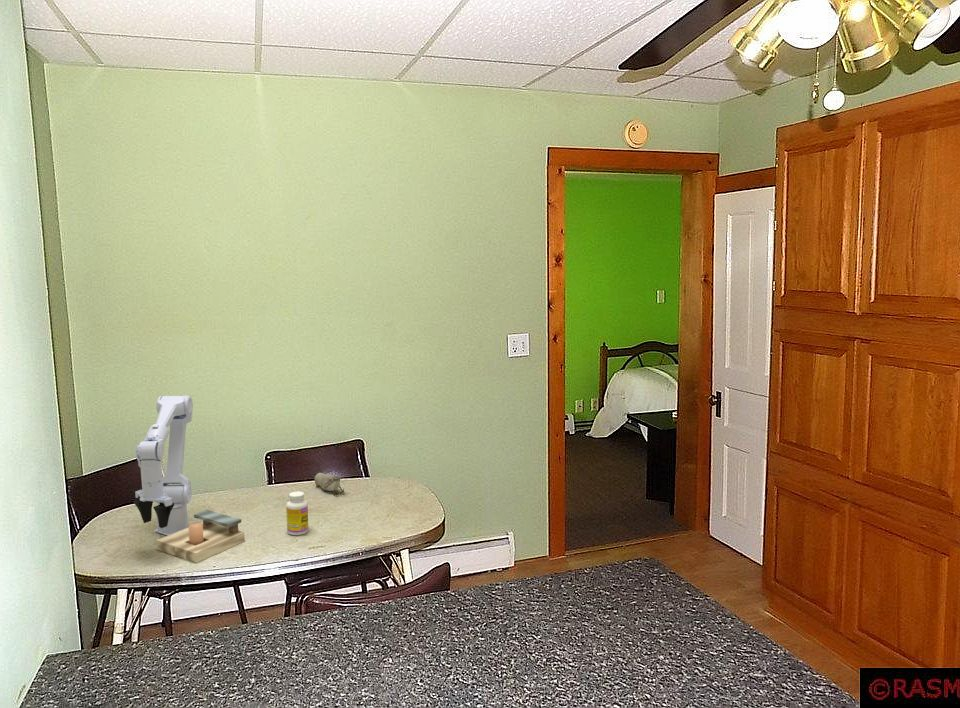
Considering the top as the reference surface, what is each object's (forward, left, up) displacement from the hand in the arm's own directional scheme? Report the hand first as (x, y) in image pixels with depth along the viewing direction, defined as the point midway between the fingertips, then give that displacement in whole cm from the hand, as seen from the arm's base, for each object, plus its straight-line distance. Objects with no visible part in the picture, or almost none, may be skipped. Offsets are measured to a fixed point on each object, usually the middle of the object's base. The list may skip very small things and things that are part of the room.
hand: (155, 524), depth 220 cm
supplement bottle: (+24, +34, -10) cm, 43 cm away
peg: (+8, +8, -9) cm, 15 cm away
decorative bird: (+6, +68, -10) cm, 69 cm away
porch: (+6, +11, -9) cm, 16 cm away
